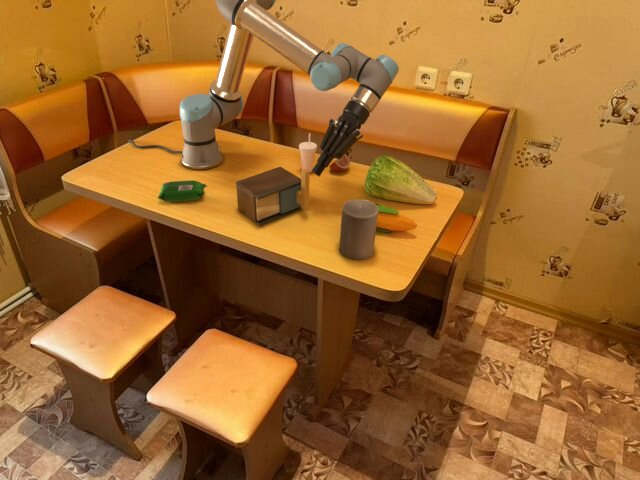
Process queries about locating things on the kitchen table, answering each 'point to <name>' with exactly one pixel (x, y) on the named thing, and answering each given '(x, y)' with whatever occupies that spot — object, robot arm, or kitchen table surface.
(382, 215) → the corn
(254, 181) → the box
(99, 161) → the kitchen table surface
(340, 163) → the fruit slice
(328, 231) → the kitchen table surface
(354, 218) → the pillar candle
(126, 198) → the kitchen table surface
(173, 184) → the snack package
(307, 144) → the smoothie
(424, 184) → the lettuce
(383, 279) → the kitchen table surface
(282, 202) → the sliding door
